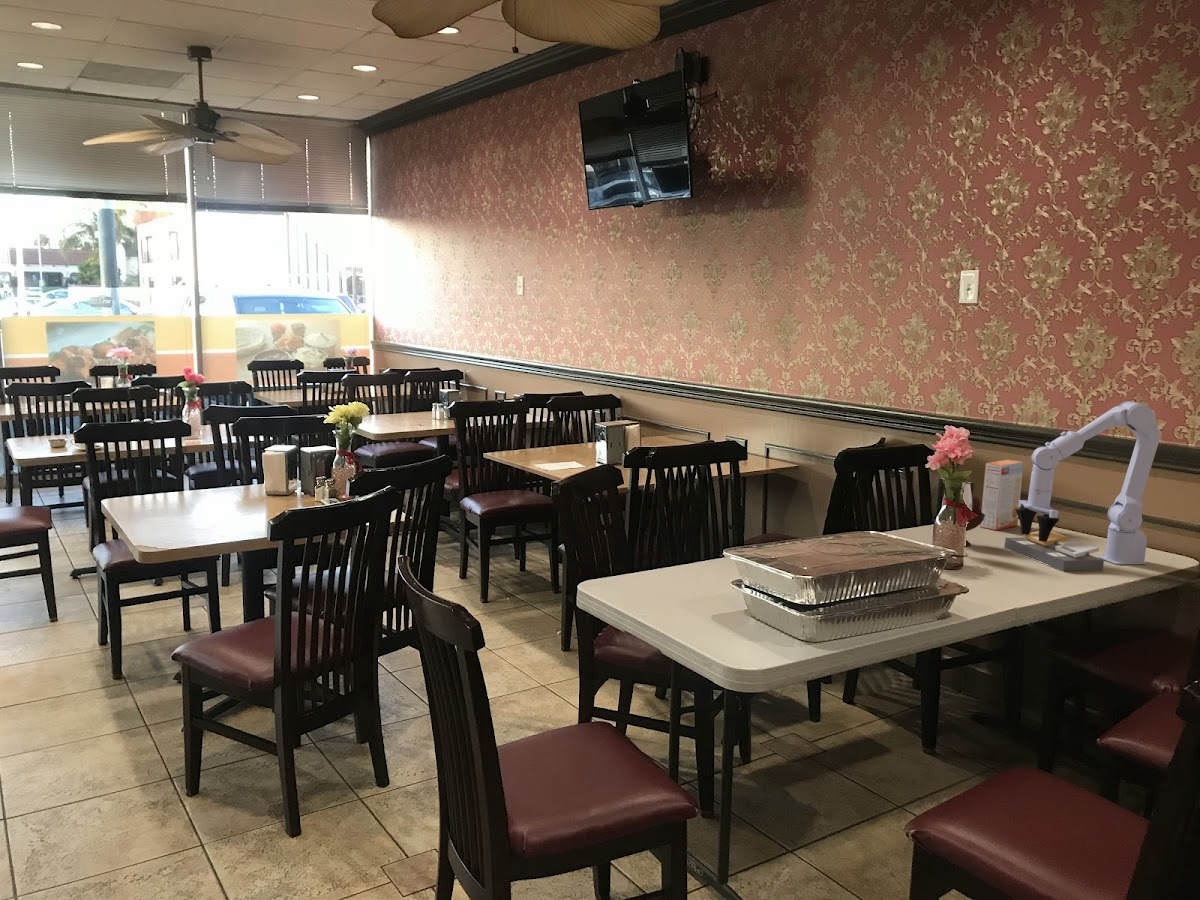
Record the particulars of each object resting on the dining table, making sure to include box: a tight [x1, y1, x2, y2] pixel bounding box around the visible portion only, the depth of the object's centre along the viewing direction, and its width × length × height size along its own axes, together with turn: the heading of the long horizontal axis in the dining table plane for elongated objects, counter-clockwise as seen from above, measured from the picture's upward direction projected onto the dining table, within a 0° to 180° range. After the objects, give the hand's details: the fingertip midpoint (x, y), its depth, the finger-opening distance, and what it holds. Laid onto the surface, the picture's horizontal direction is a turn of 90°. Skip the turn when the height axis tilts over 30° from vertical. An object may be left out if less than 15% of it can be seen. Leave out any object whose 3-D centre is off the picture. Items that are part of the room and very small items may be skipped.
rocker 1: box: [1023, 530, 1068, 546], centre depth 268 cm, size 7×9×2 cm
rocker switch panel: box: [1003, 537, 1105, 572], centre depth 263 cm, size 16×25×3 cm, turn 12°
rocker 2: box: [1055, 540, 1100, 558], centre depth 256 cm, size 7×8×2 cm
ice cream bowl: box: [966, 493, 985, 547], centre depth 275 cm, size 11×11×15 cm
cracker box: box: [979, 459, 1024, 531], centre depth 301 cm, size 14×6×21 cm, turn 130°
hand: (1033, 537), depth 268 cm, fingers open, 7 cm apart
